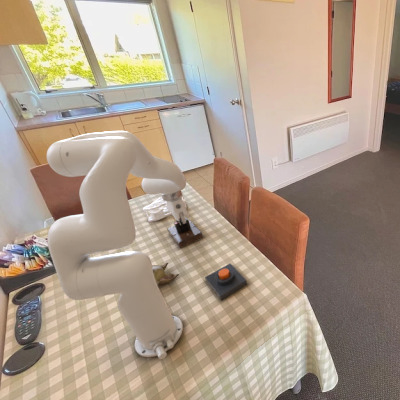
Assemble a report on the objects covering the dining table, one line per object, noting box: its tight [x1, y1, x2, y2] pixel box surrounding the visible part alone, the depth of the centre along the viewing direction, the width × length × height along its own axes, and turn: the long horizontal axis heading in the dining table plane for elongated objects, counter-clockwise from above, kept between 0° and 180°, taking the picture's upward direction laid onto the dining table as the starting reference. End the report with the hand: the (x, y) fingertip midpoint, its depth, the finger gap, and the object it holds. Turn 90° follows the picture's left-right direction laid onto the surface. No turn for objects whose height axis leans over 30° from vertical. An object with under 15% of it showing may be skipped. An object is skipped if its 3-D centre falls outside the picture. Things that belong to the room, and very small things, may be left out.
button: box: [218, 269, 230, 280], centre depth 94 cm, size 4×4×2 cm
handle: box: [173, 217, 191, 234], centre depth 118 cm, size 6×2×5 cm, turn 133°
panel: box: [167, 219, 204, 249], centre depth 120 cm, size 14×10×3 cm
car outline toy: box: [142, 190, 188, 223], centre depth 136 cm, size 20×11×7 cm, turn 137°
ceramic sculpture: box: [152, 262, 180, 286], centre depth 94 cm, size 11×9×15 cm
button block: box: [205, 263, 248, 301], centre depth 96 cm, size 12×10×4 cm
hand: (184, 229), depth 119 cm, fingers closed on handle, 2 cm apart
